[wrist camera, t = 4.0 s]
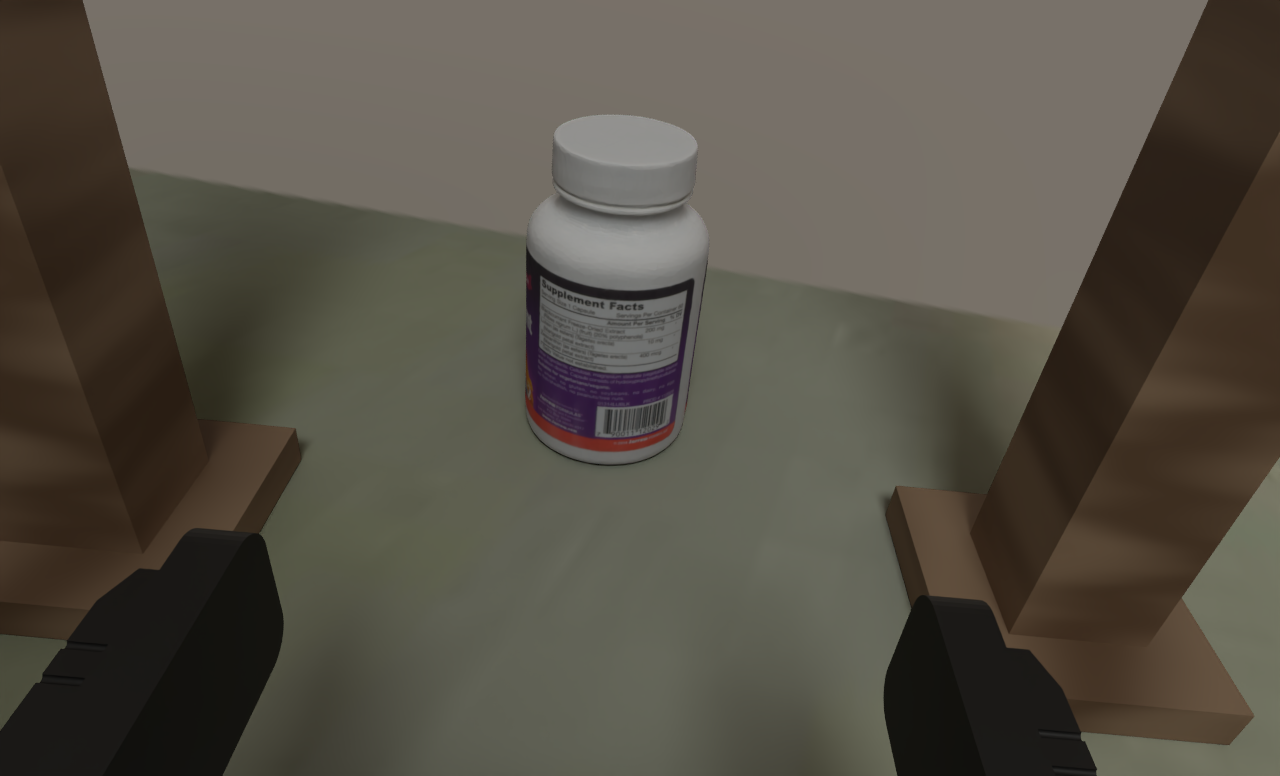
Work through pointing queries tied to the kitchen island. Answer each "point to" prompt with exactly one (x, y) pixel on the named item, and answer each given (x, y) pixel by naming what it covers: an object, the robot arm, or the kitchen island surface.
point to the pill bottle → (614, 290)
